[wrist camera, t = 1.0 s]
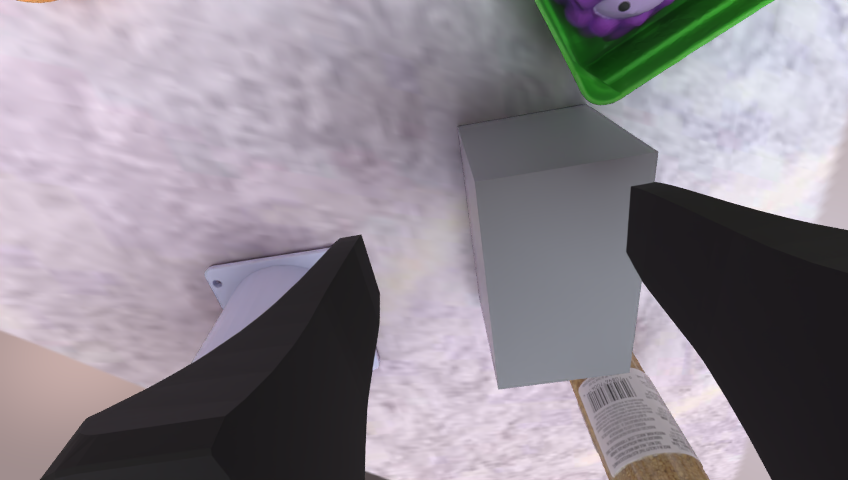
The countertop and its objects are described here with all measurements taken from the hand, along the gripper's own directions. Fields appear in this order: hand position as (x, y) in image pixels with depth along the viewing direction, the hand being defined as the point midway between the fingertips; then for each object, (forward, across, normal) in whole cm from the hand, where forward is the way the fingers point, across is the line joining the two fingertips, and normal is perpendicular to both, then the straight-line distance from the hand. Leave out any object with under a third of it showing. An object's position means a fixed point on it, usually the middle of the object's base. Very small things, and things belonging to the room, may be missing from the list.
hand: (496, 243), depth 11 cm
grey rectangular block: (+10, -3, +5) cm, 11 cm away
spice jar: (+10, -6, +16) cm, 20 cm away
